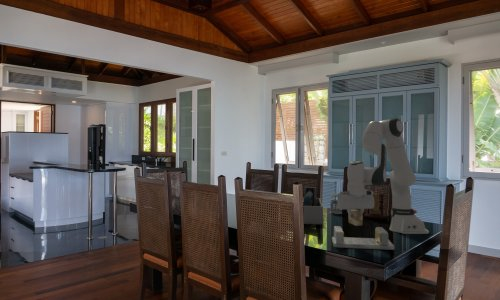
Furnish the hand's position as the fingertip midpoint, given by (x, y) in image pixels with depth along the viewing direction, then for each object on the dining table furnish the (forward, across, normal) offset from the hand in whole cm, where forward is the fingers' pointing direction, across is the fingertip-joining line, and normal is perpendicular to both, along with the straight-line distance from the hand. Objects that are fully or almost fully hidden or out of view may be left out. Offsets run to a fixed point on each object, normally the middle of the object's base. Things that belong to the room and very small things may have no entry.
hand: (355, 217), depth 193 cm
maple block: (+4, 0, 0) cm, 4 cm away
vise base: (+15, +3, -1) cm, 15 cm away
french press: (+15, +31, +88) cm, 94 cm away
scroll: (+15, +49, +62) cm, 80 cm away
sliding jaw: (+12, +12, -5) cm, 18 cm away
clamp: (+16, +1, +72) cm, 74 cm away
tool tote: (+15, +3, +71) cm, 73 cm away
